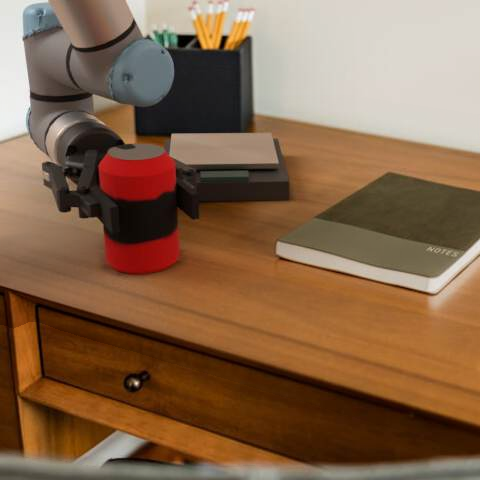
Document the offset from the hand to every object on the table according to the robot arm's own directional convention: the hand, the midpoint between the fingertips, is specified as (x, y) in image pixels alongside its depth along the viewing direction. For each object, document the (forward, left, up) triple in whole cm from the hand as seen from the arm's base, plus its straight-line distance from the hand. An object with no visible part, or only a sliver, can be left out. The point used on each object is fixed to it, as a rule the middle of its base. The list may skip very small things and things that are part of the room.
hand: (156, 213), depth 89 cm
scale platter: (+7, +33, -4) cm, 34 cm away
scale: (+7, +31, -7) cm, 33 cm away
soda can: (-2, +4, -7) cm, 9 cm away
